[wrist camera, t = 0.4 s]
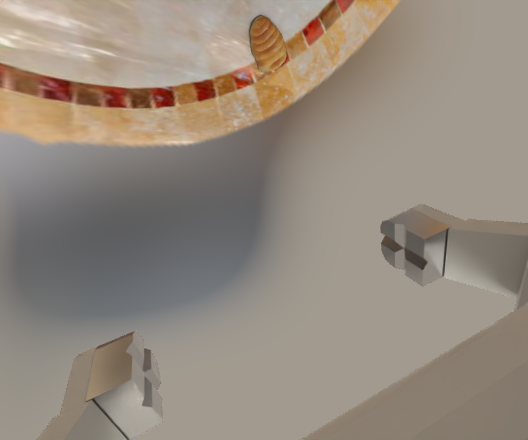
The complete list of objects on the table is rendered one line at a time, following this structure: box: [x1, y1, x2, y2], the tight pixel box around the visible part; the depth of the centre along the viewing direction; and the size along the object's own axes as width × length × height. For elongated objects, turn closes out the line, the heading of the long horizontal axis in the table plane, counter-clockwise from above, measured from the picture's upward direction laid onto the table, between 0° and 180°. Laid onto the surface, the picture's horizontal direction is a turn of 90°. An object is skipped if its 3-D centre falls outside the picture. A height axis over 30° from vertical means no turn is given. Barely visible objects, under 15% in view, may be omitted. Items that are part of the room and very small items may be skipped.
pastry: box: [250, 16, 286, 71], centre depth 56 cm, size 9×7×4 cm
